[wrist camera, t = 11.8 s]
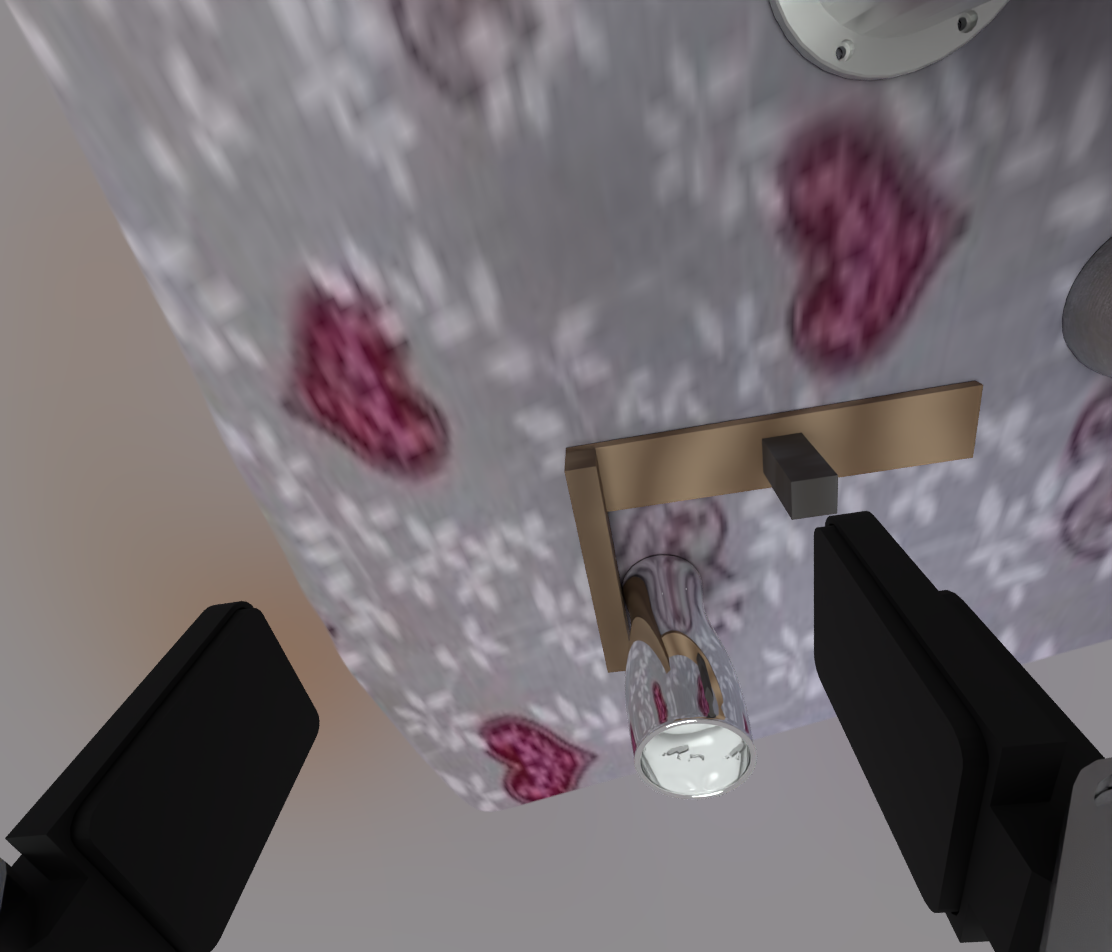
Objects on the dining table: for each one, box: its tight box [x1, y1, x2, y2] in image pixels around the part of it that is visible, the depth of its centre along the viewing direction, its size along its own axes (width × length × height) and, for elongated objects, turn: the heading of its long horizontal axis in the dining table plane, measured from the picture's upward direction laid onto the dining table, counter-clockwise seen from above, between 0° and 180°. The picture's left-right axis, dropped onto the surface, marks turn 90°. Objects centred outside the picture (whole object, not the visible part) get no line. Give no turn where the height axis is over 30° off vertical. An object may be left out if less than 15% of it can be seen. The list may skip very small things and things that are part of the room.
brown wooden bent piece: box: [565, 381, 983, 673], centre depth 38 cm, size 26×18×7 cm
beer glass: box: [622, 555, 757, 800], centre depth 38 cm, size 7×7×15 cm
